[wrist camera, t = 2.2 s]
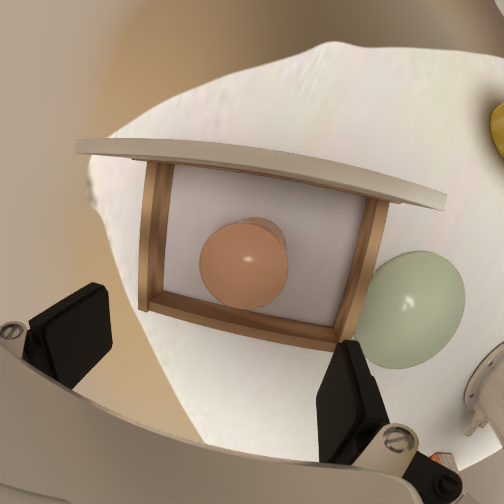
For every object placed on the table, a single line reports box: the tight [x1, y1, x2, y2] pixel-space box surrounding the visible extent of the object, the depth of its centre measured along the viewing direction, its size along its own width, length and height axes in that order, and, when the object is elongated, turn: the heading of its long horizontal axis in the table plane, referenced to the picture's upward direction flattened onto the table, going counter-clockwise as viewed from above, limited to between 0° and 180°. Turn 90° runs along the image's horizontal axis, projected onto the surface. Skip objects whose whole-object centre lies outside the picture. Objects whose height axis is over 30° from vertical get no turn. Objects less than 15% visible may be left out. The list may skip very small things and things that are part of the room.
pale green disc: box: [354, 251, 465, 369], centre depth 24 cm, size 13×13×1 cm
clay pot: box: [199, 218, 288, 310], centre depth 22 cm, size 6×6×7 cm
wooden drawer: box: [74, 138, 447, 352], centre depth 19 cm, size 15×20×13 cm
